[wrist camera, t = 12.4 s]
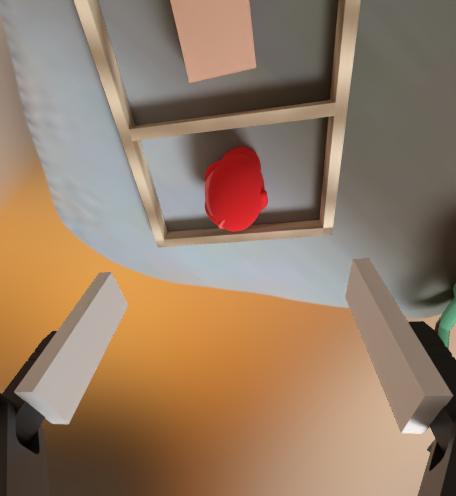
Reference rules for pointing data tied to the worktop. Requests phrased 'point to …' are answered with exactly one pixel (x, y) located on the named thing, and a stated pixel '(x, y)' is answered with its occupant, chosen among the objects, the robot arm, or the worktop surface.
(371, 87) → the worktop surface
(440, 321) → the mug
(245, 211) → the red rounded oval lump
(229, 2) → the block
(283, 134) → the worktop surface
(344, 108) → the rack
